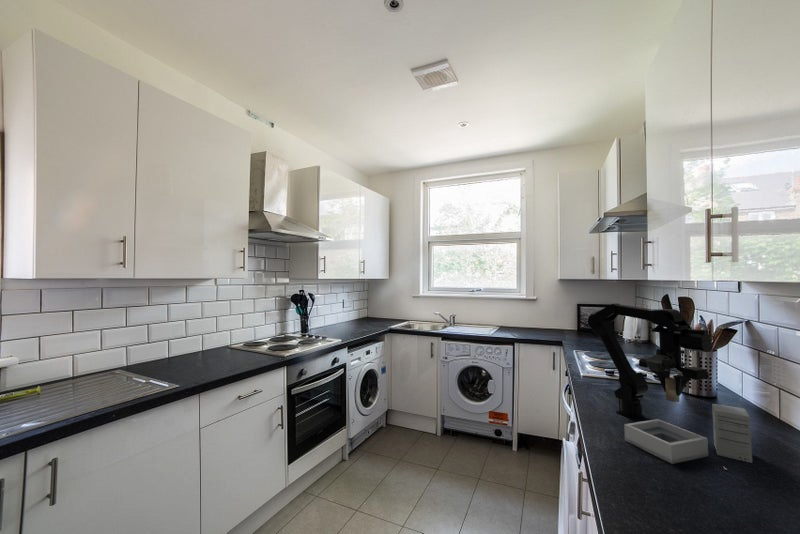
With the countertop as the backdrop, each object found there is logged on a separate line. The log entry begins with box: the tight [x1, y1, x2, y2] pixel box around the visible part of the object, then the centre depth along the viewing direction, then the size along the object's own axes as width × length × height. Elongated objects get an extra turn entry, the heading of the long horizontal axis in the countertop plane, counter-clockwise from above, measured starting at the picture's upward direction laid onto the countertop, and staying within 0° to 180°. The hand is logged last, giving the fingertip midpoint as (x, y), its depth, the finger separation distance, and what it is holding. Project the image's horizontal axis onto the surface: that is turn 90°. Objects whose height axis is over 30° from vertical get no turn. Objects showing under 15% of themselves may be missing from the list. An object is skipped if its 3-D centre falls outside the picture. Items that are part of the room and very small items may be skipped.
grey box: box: [624, 418, 709, 465], centre depth 100 cm, size 14×14×5 cm
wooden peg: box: [665, 376, 680, 403], centre depth 112 cm, size 4×4×7 cm
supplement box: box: [711, 403, 753, 464], centre depth 97 cm, size 7×7×13 cm
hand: (672, 393), depth 112 cm, fingers closed on wooden peg, 3 cm apart
